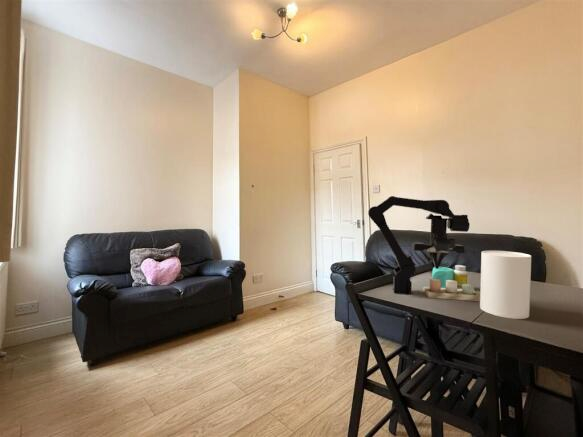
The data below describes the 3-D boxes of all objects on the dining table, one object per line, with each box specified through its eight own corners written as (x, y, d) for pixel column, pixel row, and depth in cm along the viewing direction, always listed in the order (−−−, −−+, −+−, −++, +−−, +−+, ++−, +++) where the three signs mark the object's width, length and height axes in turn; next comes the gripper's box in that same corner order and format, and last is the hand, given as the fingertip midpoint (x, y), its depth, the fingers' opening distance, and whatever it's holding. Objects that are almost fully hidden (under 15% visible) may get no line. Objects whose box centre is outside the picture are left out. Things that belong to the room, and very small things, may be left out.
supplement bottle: (469, 289, 120) (469, 267, 120) (455, 289, 122) (455, 266, 121) (463, 286, 126) (464, 264, 125) (450, 285, 127) (451, 264, 126)
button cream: (447, 292, 111) (447, 282, 111) (444, 289, 115) (444, 279, 115) (458, 292, 110) (458, 282, 110) (455, 289, 114) (455, 280, 114)
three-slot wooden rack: (428, 297, 110) (428, 293, 110) (423, 290, 120) (423, 286, 120) (482, 301, 106) (483, 297, 106) (472, 293, 115) (473, 289, 115)
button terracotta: (431, 290, 113) (431, 281, 113) (428, 288, 117) (428, 278, 116) (441, 291, 112) (442, 281, 112) (439, 288, 116) (439, 279, 115)
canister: (503, 303, 104) (504, 250, 103) (540, 317, 90) (542, 256, 90) (470, 305, 102) (472, 251, 101) (503, 319, 88) (505, 257, 88)
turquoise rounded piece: (431, 286, 125) (432, 269, 125) (433, 282, 132) (433, 266, 132) (452, 289, 121) (452, 271, 121) (452, 285, 128) (453, 268, 127)
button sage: (464, 296, 110) (464, 286, 110) (460, 293, 114) (460, 283, 114) (475, 297, 109) (475, 287, 109) (471, 294, 113) (471, 284, 113)
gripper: (417, 231, 108) (415, 271, 108) (471, 233, 103) (469, 275, 104) (412, 229, 118) (411, 265, 119) (461, 231, 114) (459, 268, 114)
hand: (436, 268), depth 114 cm, fingers closed
